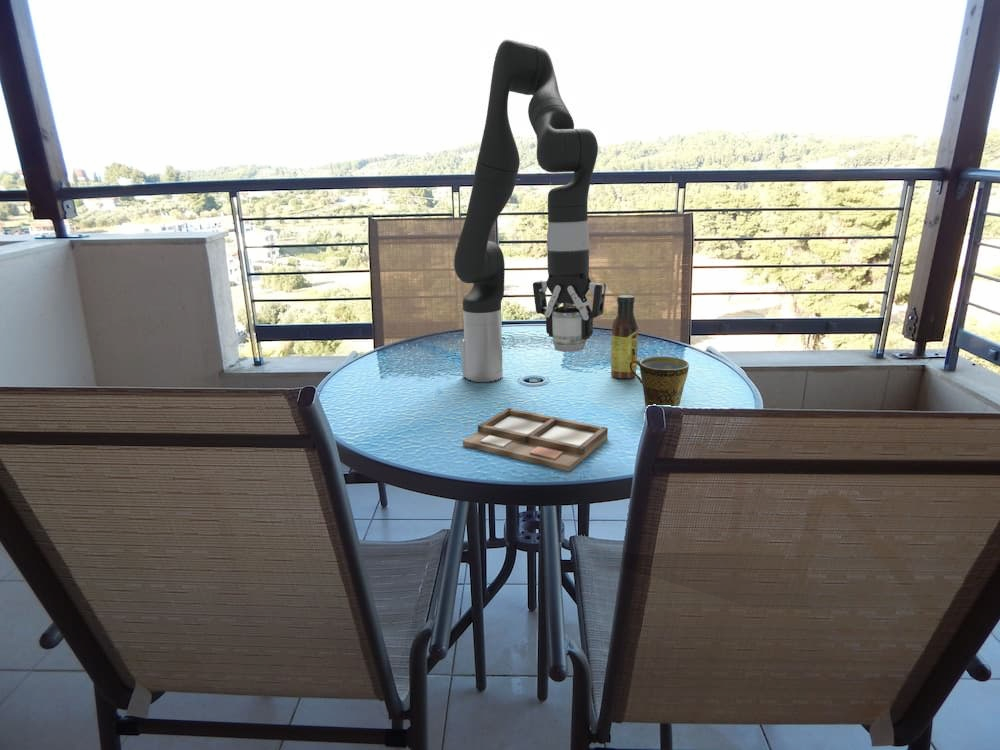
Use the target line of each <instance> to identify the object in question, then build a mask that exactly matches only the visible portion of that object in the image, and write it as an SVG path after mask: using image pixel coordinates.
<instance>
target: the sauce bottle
mask: <svg viewBox="0 0 1000 750" xmlns="http://www.w3.org/2000/svg"><path fill="white" fill-rule="evenodd" d="M616 299H617V300H616V302H617V315H616V317H615V319H614V320H613V322H612V327H611V328H612V330H611V331H612V334H611V349H610V350H611V352H610V355H611V356H610V370H611V372H610V374H611V376H612V377H613V378H615V379H623V380H625V379H626V380H628V379H632V378H635V377H636V376H635V375H634V374H633V373H632V372H631V370H630V363H631V362H632V361H634V360H638V346H639V345H638V343H639V342H638V341H639V340H638V339H639V327H638V324H637V321H636V318H635V313H634V304H635V296H634V295H629V294H621V295H617V297H616ZM637 367H638V365H637V364H636V363H633V364H632V369H633V370H634V372H635V373H636V374H637V370H638V369H637Z"/></svg>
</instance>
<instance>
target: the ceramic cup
mask: <svg viewBox="0 0 1000 750" xmlns="http://www.w3.org/2000/svg"><path fill="white" fill-rule="evenodd" d="M633 363H636V364H637V366H638V367H639V371H640V376H639V375H638V373H637V372H636V373H635V372H634V370H633V369H632V364H633ZM689 369H690V363H689V361H686V360H685V359H683V358H678V357H672V356H658V355H657V356H649V357H645V358H643V359H640V360H638V359H637V360H634V361H632V362H631V363H630V370H631V372H632V373H633V374H634V375H635V377H636V379H638V381H639V383H641V385H642V390H643V397H644V398H643V399H644V406H645V407H646V406H648V405H653V404H656V405H671V406H679V407H680V404H681V399H682V396H683V392H684V388H685V385H686V381H687V377H688V373H689Z"/></svg>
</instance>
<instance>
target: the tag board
mask: <svg viewBox="0 0 1000 750" xmlns="http://www.w3.org/2000/svg"><path fill="white" fill-rule="evenodd" d="M608 430H609V429H608V427H606V426H600V425H595V424H590V423H584V422H580V421H575V420H569V419H565V418H559V417H555V416H549V415H544V414H539V413H536V412H530V411H529V412H528V411H526V410H525V411H524V410H520V409H515V408H509V407H508V408H505V409H504V410H502V411H500V412H499V413H497V414H496V415H494V416H492V417H490V418H488V419H487V420H485V421H484V422H482V423H480V424H478V425H477V431H476V432H475V433H473V434H472V435H470V436H468V437H467V438H464V439H463V440H462V446H464V447H468V448H472V449H474V450H475V449H476V450H479V451H484V452H488V453H490V454H496V455H499V456H504V457H508V458H512V459H516V460H521V461H524V462H529V463H532V464H536V465H540V466H545V467H548V468H549V467H550V468H552V469H557V470H561V471H566V472H568V473H569V472H571V471H572V470H573V469H575V468H576V467H577V466H578V465H580V463H582V462H583V460H584V459H586V458H587V457H588V456H589V455H591V453H593V452H594V451H595V450H596V449H597V448H598V447H600V446H601V445H602V444H603V443H604V442H606V440H608Z"/></svg>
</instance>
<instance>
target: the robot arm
mask: <svg viewBox="0 0 1000 750" xmlns="http://www.w3.org/2000/svg"><path fill="white" fill-rule="evenodd" d="M554 69H555V68H554V65H553V61H552V59H551V56H550V54H549V52H548V51H547V50H545V49H544V48H543V47H540V46H537V45H533V44H529V43H525V42H521V41H517V40H513V39H507V38H506V39H504V40H502V41H501V43H500V44H499V45H498V48H497V51H496V54H495V57H494V62H493V67H492V74H491V79H490V80H491V82H490V87H489V97H488V105H487V112H486V117H485V124H484V127H483V128H484V129H483V134H482V138H481V143H480V147H479V153H478V156H477V161H476V165H475V171H474V176H473V183H472V188H471V192H470V197H469V200H468V206H467V211H466V215H465V219H464V223H463V226H462V230H461V232H460V236H459V240H458V243H457V246H456V248H455V254H454V260H453V266H454V270H455V271H454V272H455V274H456V277H457V278H458V280H460V281H461V282H463V283H465V284H473V285H472V288H471V290H470V291H469V292H468V293H467V294H466V295H465V296H464V298H463V300H462V314H463V316H462V317H463V318H462V319H463V337H464V338H463V339H461V341H460V345H461V346H460V348H461V367H462V369H461V370H462V372H461V373H462V378H465V377H466V378H465V379H467V380H469V381H470V380H471V382H476V383H490V381H491V382H495V380H496V381H499V380H500V378H501V379H502V378H503V377H504V376H503V374H504V372H503V371H504V369H503V337H502V335H503V332H502V331H503V328H502V301H503V298H504V296H505V294H504V293H505V271H506V270H505V257H504V253H503V250H502V248H501V247H500V245H498V243H496V242H495V241H490V236H491V235H490V234H491V233H492V232H491V231H492V229H493V227H494V225H495V222H496V221H497V219H498V218H499V216H500V214H501V213H502V212H503V210H504V209H505V207H506V206H507V203H508V202H509V200H510V199H511V197H512V196H513V195H512V194H513V192H514V189H515V188H516V187H515V185H516V182H517V178H518V174H519V173H518V172H519V169H520V163H521V161H520V154H519V153H520V152H519V151H518V147H517V142H516V140H515V137H514V134H513V132H512V128H511V125H510V121H509V120H510V119H509V114H508V112H509V111H508V106H509V105H508V103H509V101H508V100H509V95H510V92H512V93H516V94H520V95H526V96H532V97H531V99H530V101H529V104H528V108H527V110H528V111H527V114H528V115H527V116H528V119H529V122H530V125H531V127H532V129H533V131H534V133H535V135H536V136H535V137H536V142H537V143H536V161H537V164H538V165H539V167H540V168H541V169H542V170H543V171H545V172H547V173H553V174H555V173H573V175H572V178H571V180H570V181H569V182H568V183H567V184H564V185H561V186H557V187H554V188H552V189H551V190H549V192H548V194H547V222H548V223H547V232H546V247H547V248H546V251H547V254H546V255H547V274H548V277H547V280H538V281H535V282H533V284H532V289H533V291H532V292H533V297H534V298H533V299H534V304H535V305H534V306H535V312H536V314H538V315H539V314H541V315H543V316H544V317H545V329H546V330H545V332H546V334H548V337H549V338H553V326H552V312H553V311H554V310H555V309H556V308H558V307H561V304H566V303H567V304H569V305H574V306H576V308H577V309H578V310H579V311H580V313H581V315H582V317H583V319H584V320H582V339H583V340H586V341H587V340H589V339H590V338H591V337H592V336H593V333H594V319H595V318H597V317H599V316H602V315H603V314H604V306H605V298H606V297H605V296H606V291H607V290H606V289H607V288H606V287H607V284H606V283H605V282H601V283H597V282H591V279H590V276H589V275H590V233H589V231H590V230H589V224H588V221H589V220H588V199H589V198H588V197H589V192H590V186H591V182H592V178H593V177H592V176H593V173H594V169H595V166H596V162H597V158H598V152H599V144H598V140H597V138H596V136H595V134H594V132H592V130H590V129H588V128H575V123H574V120H573V116H572V115H571V113H570V111H569V109H568V108H567V106H566V104H565V102H564V101H563V98H562V96H561V93H560V91H559V86H558V80H557V77H556V73H555V70H554ZM547 290H548V291H549V292H550V293H551V296H550V298H549V300H548V302H547V295H546V294H547V293H546V292H547ZM590 290H591V291H590ZM589 291H590V292H591V295H592V296H593V298H592V299H593V300H592V307H591V303H590V300H589V298H588V296H587V293H589ZM502 376H503V377H502ZM498 379H499V380H498Z"/></svg>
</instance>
